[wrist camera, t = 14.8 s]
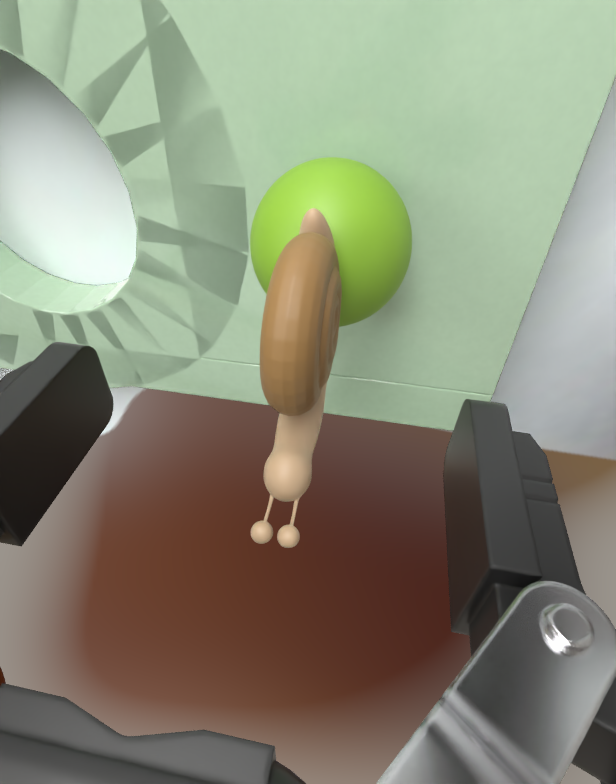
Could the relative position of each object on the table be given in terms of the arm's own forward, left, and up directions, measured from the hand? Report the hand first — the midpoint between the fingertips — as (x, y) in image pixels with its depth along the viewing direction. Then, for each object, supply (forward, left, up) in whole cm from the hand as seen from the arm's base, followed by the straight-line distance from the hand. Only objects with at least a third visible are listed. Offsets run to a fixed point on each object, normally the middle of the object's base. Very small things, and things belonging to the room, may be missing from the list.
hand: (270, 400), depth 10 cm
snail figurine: (0, 0, -11) cm, 11 cm away
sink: (0, -8, -13) cm, 16 cm away
